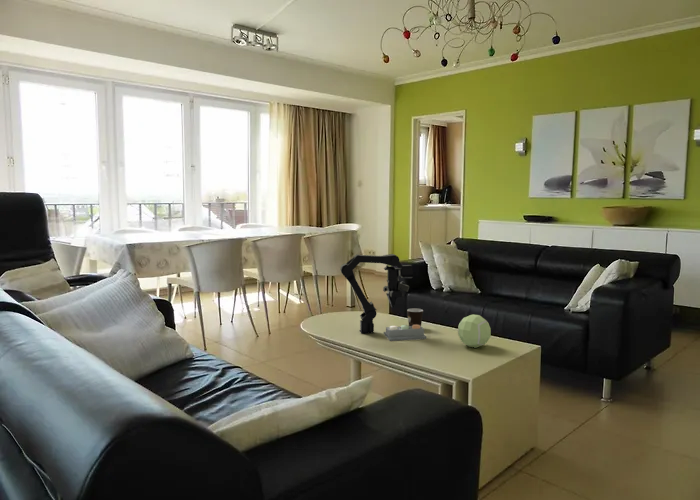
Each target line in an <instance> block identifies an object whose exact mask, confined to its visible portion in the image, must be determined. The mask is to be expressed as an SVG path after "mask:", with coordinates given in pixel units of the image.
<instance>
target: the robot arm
mask: <svg viewBox="0 0 700 500" xmlns="http://www.w3.org/2000/svg"><path fill="white" fill-rule="evenodd" d="M360 263H368V264H369V263H370V264H383V265H386V266H385V267H384V268H383V269H384V270H385V271H387V279H386V283H387V285H384V286H383V288H382V291H383V292H384V293H385V294H386V297H387V299H388V302H389V304H390V307H391V308H393V309H394V308H395V306H396V305H395V304H396V302H397V299H398V298H403V297H404V292H403V291H405V292H407V293H408V292H409V289H410V286H409V285H408V284H406V282H405V281H400V280H399V277H401V279H412V278H413V277H414V270H413V265H412V264H407V265H406V264H405V265H403V264H402V262H400V257H399V256H398V255H396V254H393V253H390V254H383V255H374V254H373V255H372V254H371V255H367V254H358V253H357V254H355V255H354V256H353V257H352V258H350V260H348V261H347V262H345V263H343V264H341V265H340V267H339V271H340V273H341V274H342V275H343V276H344V277H345V279H346V280H347V281H348V282H349V284H350V286H351V288H352V290H353V292H354V294H355V295H356V296H357V298H358V300H359V302H360V304H361V307H362V309H363V312H362V313H361V314H360V315H359V317H360V319H361V320H359V332H360V334H364V335H365V334H374V332H375V324H374V321H373V320H374V319H375V318H376V316H377V309H376V306H375V305H374V303H373V302H372V301H368V299H367V298H366V295H365V294H364V292H363V290H362V288H361V287H360V285H359V283H358V281H357V280H356V277H355V273H354V269H355V268H356V267H357V266H358V265H359V264H360ZM386 292H387V293H386Z"/></svg>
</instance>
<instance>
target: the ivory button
mask: <svg viewBox="0 0 700 500" xmlns="http://www.w3.org/2000/svg"><path fill="white" fill-rule="evenodd" d="M389 327H390V330H397V327H398V326H397V325H389Z"/></svg>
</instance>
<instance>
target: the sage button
mask: <svg viewBox="0 0 700 500" xmlns="http://www.w3.org/2000/svg"><path fill="white" fill-rule="evenodd" d="M400 327H401V329H409V324H402V325H400Z"/></svg>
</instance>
